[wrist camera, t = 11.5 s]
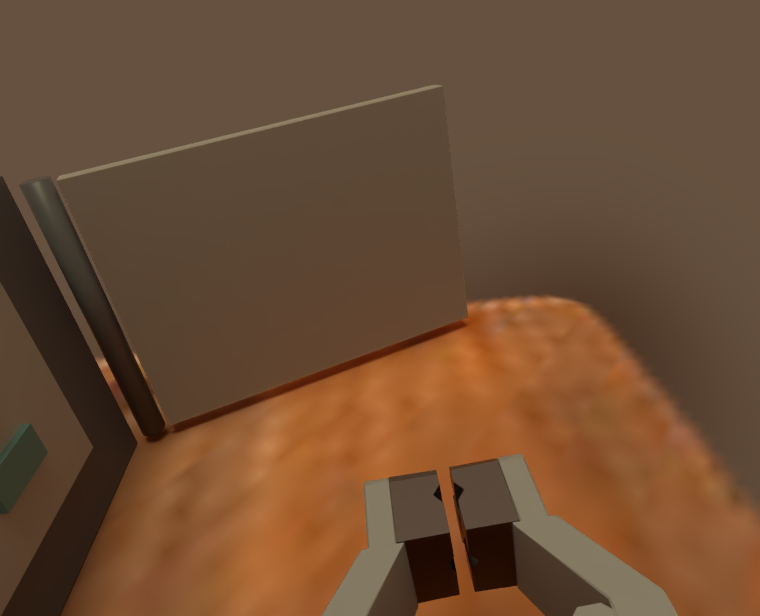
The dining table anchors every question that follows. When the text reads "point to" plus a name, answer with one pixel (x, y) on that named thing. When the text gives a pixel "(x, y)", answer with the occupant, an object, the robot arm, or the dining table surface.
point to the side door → (262, 251)
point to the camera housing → (48, 431)
